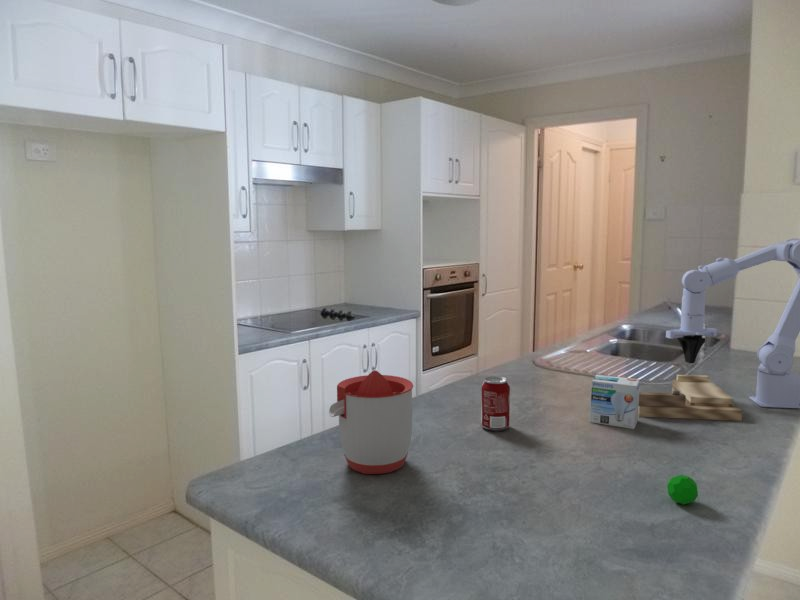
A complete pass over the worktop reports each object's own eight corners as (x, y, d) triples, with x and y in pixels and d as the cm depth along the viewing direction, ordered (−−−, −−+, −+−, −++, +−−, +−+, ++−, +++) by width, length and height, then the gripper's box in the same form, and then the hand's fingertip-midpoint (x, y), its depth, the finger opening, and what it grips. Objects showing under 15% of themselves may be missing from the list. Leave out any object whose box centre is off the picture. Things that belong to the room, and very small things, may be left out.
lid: (710, 386, 163) (711, 375, 163) (733, 404, 147) (733, 392, 147) (672, 384, 165) (672, 374, 164) (690, 402, 149) (691, 391, 149)
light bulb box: (589, 422, 144) (590, 380, 143) (593, 414, 150) (595, 373, 149) (635, 429, 139) (637, 385, 138) (638, 420, 145) (640, 378, 144)
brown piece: (713, 397, 163) (714, 386, 163) (741, 420, 144) (742, 408, 144) (623, 393, 167) (623, 383, 167) (639, 416, 148) (639, 404, 148)
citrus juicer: (322, 456, 126) (319, 365, 123) (398, 444, 132) (397, 358, 129) (341, 487, 111) (338, 385, 108) (425, 472, 117) (425, 375, 114)
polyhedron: (662, 502, 104) (663, 476, 104) (672, 492, 108) (673, 468, 107) (691, 512, 101) (693, 485, 100) (701, 502, 104) (703, 476, 104)
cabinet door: (682, 405, 148) (683, 390, 148) (685, 407, 146) (685, 392, 146) (636, 403, 150) (637, 388, 150) (638, 405, 148) (639, 391, 148)
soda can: (508, 433, 138) (509, 384, 136) (480, 431, 139) (480, 382, 138) (509, 423, 144) (510, 376, 143) (481, 421, 146) (482, 375, 144)
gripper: (678, 317, 155) (676, 367, 157) (726, 315, 158) (723, 364, 160) (662, 313, 162) (659, 361, 164) (708, 311, 165) (705, 358, 167)
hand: (689, 362), depth 162 cm, fingers closed
